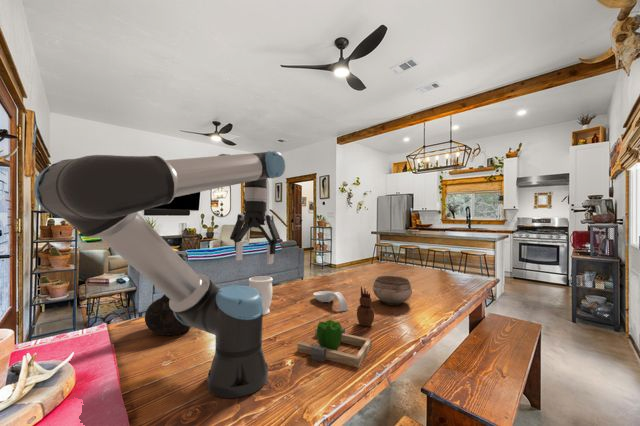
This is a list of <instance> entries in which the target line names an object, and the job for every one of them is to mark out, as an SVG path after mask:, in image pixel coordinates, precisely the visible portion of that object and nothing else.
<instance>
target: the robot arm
mask: <svg viewBox="0 0 640 426" xmlns="http://www.w3.org/2000/svg"><path fill="white" fill-rule="evenodd" d="M285 170H286V163H285V158H284V156H283V154H281V152H279V151H277V150H276V151H275V150H274V151H271V150H270V151H269V150H268V151H263V152H255V153H254V152H253V153H240V154H239V153H238V154H231V153H230V154H226V153H220V154H218V155H215V156H213V155H212V156H203V157H189V158H176V159H164V158H163V157H162V156H159V155H146V156H145V155H143V156H139V155H138V156H137V155H133V156H132V155H131V156H130V155H113V154H93V155H86V156H81V157H77V158H69V159H67V158H66V159H61V160H59V161H57V162H55V163H52V164H51V165H49V166H48V167H45V168H44V169H43V170H42V171H41V172H40V173H39V174H38V175H37V177H36V179H35V180H34V186H33V193H34V197H35V200H36V202H37V203H38V205H39V206H40V208H42V209H43V210H44V211H45V212H46V213H48V214H50V215H52V216H53V217H56V218H59V219H63V220H65V221H66V222H67V223H68V224H69V225H70V226H72V227H73V228H74V229H75V230H77V231H78V232H79V233H80V234H81V235H83V236H84V238H92V239H93V238H95V239H96V238H98V239H100V240H102V241H103V242H104V243H105V244H106V246H109V248H111V250H113V251H114V252H115V253H116V254H118V255H119V257H121V258H122V259H123V260H124V261H126V262H127V263H128V264H129V265H130V266H131V267H132V268H133V269H135V270H136V271H137V272H138V273H139V274H141V276H143V277H144V278H145V279H146V280H148V281H149V283H150V284H152V285H153V286H154V287H155V288H157V289H158V290H159V291H160V292H161V293H162V294H163V295H164V294H165V295H166V296H167V297H168V298H169V299H170V301H169V306H170V308H171V309H172V310H173V313H174V315H175V317H176V318H177V320H178V321H180V322H181V323H182V324H184V325H186V326H189V327H191V328H193V329H197V330H199V331H203V332H206V333H208V334H212V335H214V336H215V350H214V351H215V353H214V356H213V359H212V362H211V366H210V369H209V370H208V372H207V373H208V374H207V378H206V379H207V380H206V382H207V383H206V387H207V390H208V389H209V390H208V391H209V392H210V393H211V394H212V395H213V394H214V396H215V395H216V396H215V397H218V396H219V398H222V397H223V399H237V398H243V397H247V396H249V395H251V394H253V393H256V392H258V391H259V390H260V389H262V388H263V387H264V386H265V385H266V383H267V381H268V378H269V367H268V364H267V361H266V359H265V358H266V357H265V355H264V351H263V347H262V346H263V344H262V343H263V341H262V340H263V323H264V322H263V319H264V318H263V317H264V315H263V304H262V295H261V293H260V292H259V291H258V290H256V289H255V288H252V287H249V285H240V284H239V285H238V284H233V285H226V286H222V287H221V288H220V287H219V286H217V285H216V284H215V283H214V282H213V281H212V280H211V279H210V277H208V276H207V275H205V274H202V273H199V274H197V273H196V272H195V271H194V269H192V267H191V266H190V265H189V264H188V263H187V262H186V260H185V261H184V260H183V259H182V258H181V257H180V256H179V255H178V254H179V253H177V252H176V251H175V249H173V248H172V247H171V245H170V244H169V243H167V241H165V240H166V239H164V238H163V237H162V236H161V235H160V234H159V233H158V232H157V231H156V230H155V229H154V228H153V226H151V225H150V223H148V221H147V220H146V219H145V218H143V215H141V214H140V213H139V212H142V211H145V210H148V209H153V208H157V207H159V206H163V205H167V204H170V203H172V201H173V200H174V199H175V198H177V197H182V196H186V195H191V194H196V193H201V192H206V191H211V190H216V189H220V188H224V187H230V186H235V185H239V184H243V185H244V190H243V192H244V193H243V195H244V196H243V200H245V201H244V202H243V211H244V212H245V213H243V214H241V213H239V214H238V213H237V219H236V222H235V225H234V226H233V229H232V232H231V234H230V236H229V239H230V240H231V241H234V251H235V261H236V262H238V261H243V258H244V257H243V256H244V255H243V252H244V250H243V249H244V248H243V247H244V246H243V245H244V242H243V239H244V237H245V235H246V234H247V233H248V231H249V230H250V229H251V228H257V229H259V230H260V232H262V234H263V236H264V237H265V239H266V241H267V242H268V243H267V245H266V246H267V247H266V265H272V264H274V261H275V260H274V258H275V254H276V249H277V248H276V245H277V244H279V243H281V242H282V240H281V239H282V238H281V236H280V234H279V231H278V230H277V227H276V224H275V221H274V215H273V214H267V215H266V212H267V202H266V200H267V180H268V179H275V178H280V177H282V176H283V175H284V173H285ZM265 221H266V222H265Z"/></svg>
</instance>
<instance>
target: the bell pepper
mask: <svg viewBox="0 0 640 426" xmlns="http://www.w3.org/2000/svg"><path fill="white" fill-rule="evenodd" d="M316 328H317V336H316V338H317V341H318V346H322V347H326V348H328V349H332V350H335V351H338V348H339V347H340V344H341V342H340V341H341V337H342V328H343V327H342V325H341V323H340V321H337V322H336V321H335V320H334V319H332V318H329V319H328V320H326V321H319V323H318V325H317V327H316Z"/></svg>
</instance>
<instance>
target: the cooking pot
mask: <svg viewBox="0 0 640 426" xmlns="http://www.w3.org/2000/svg"><path fill="white" fill-rule="evenodd" d="M374 279H375V280H374V281H373V285H372V292H373V295H375V296H376V298H377V299H379V300H381V301H382V302H383V303H384V304H386V305H390V306H398V305H400V304H402V303H405V302H407V301H408V300H409V299H410V298H411V297H412V295H413V288H412V284H411V281H412V280H411V279H410V277H406V276H402V275H396V274H379V275H375V276H374Z"/></svg>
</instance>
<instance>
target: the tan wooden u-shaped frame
mask: <svg viewBox="0 0 640 426" xmlns="http://www.w3.org/2000/svg"><path fill="white" fill-rule="evenodd" d="M314 331H315V332H314V333H315V334H314V337H317V327H316V328H315V330H314ZM372 341H373V340H372V339H371V338H366V337H362V336H357V335H354V334H353V335H352V334H349V333H346V328H345V327H342V337H341V341H340V343H342V344H348V345H353V346H355V347H360V350H359V351H358V353H357V354H356V355H355V354H351V353H347V352H343V351H339V350H332V349H328V348H326V347H322V346H320V345H319V344H312V343H308V342H303V341H299V342H297V347H296V348H297V350H296V351H297V353H298V352H299V353H303V354H305V355H308V356H309V355H310V357H311V358H310V359H311V360H314V361H318V362H321V363H324V362H325V361H326V360H328V361H332V362H334V363H335V362H336V363H338V364H344V365H347V366H349V367H354V368H357V369H359V368H360V366H361V365H362V363H363V361H364V360H365V359H366V356H367V355H368V353H369V352H370V351H371V348H372V344H373V343H372Z"/></svg>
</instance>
